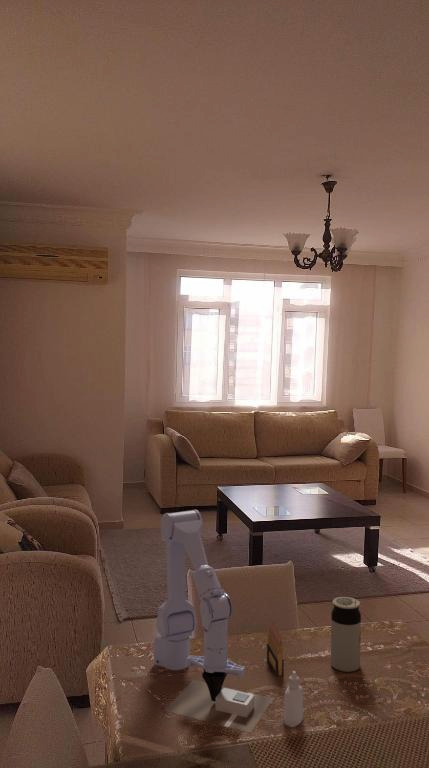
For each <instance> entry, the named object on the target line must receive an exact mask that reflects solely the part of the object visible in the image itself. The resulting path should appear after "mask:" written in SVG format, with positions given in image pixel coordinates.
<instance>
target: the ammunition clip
mask: <svg viewBox="0 0 429 768" xmlns="http://www.w3.org/2000/svg"><path fill="white" fill-rule="evenodd" d="M267 634H268V635H267V643H266V662H267V663H269V664H268V666H269V665H270V666H269V667H270V670H271V671H272V673H273V674H276V676H285V675H284V672H285V671H284V669H285V664H284V661H285V660H284V655H283V653H284V651H283V650H284V648H283V638H282V635H281V633H280V630H278V628H277V626H276V625H275V623H274V621H273V620H272V619H270V621H269V626H268V633H267Z"/></svg>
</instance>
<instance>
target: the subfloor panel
mask: <svg viewBox="0 0 429 768" xmlns="http://www.w3.org/2000/svg"><path fill="white" fill-rule="evenodd" d="M223 688H227V689H231V690H236V691H240V692H244V693H248V694H253V695H254V708H253V709H252V711H251V712H250V714H249V715H248V716H247V718H246V717H242V716H238V715H234V714H230V713H226V712H222V711H218V710H216V702H215V701H211V696H210V692H209V689H208V686H207V684H206V682H205V681H200V680H196V679H193V680H191V681H190V683H189V684H188V685H187V686H186V687H185V688H184V689H183V690H182V691H181V692H180V694H178V695H177V696H176V698H175V699H173V701H172V702H170V703H169V705H168V706H167V707H166V708H164V712H167V713H170V714H175V715H178V716H183V717H186V718H189V719H195V720H197V721H202V722H206V723H208V724H209V723H210V724H212V725H213V724H214V725H217V726H220V727H225V728H228V729H232V730H237V731H241V732H245V733H249V734H252V732H253V730H254V729H255V727H256V726H257V724H258V723H259V721H260V719H261V718H262V717H263V716H264V713H265V712H266V710H268V708H269V706H270V705H271V703H272V702H273V700H274V698H273V697H270V696H264V695H261V694H256V693H251V692H248V691H244V690H239V689H234V688H230V687H226V686H222V688H221V691H222V689H223Z"/></svg>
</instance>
